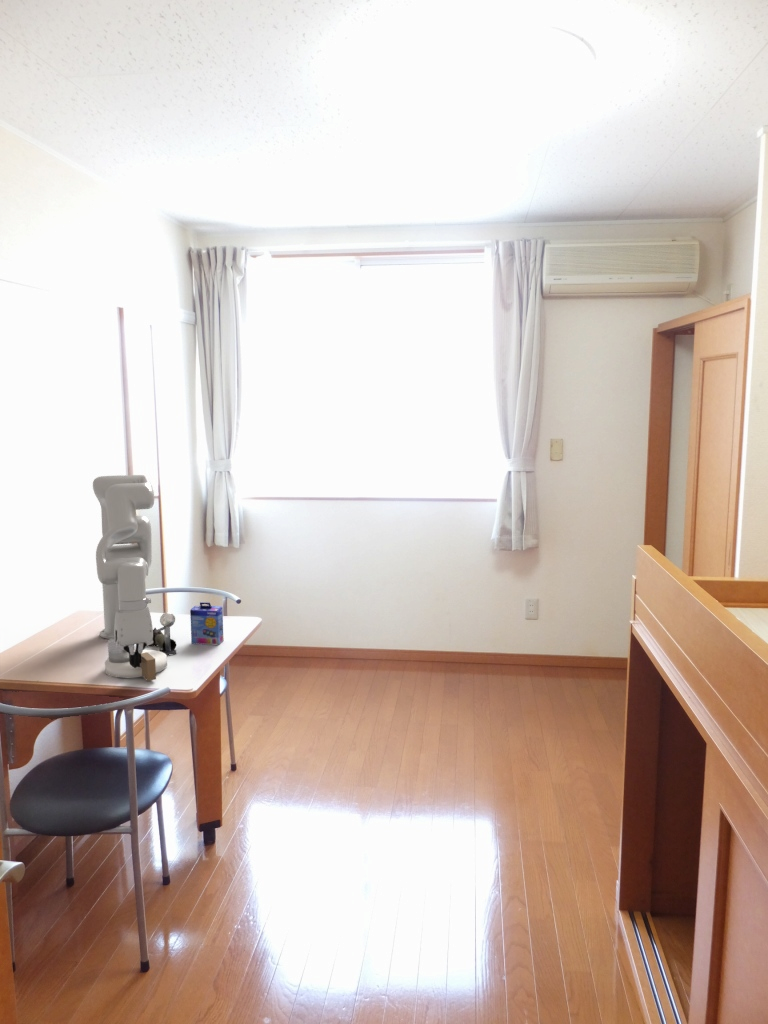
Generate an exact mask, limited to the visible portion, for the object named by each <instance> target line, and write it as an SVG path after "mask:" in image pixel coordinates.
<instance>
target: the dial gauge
mask: <svg viewBox="0 0 768 1024" xmlns="http://www.w3.org/2000/svg"><path fill="white" fill-rule="evenodd" d="M159 618H160V619H159V622H160V624H161V625H162V627H160V628H158V629H157V630H155V631H154V632H155V633H157V632H159V631H161V632H162V631H164V632H163V634H164V638H165V651H164V650H163V649H159V651H160V652H163V653H165V654H166V655H169V654H173V655H177V650H175V649H173V648H171V643H170V638H171V627H172V626H173V625H174V624H175V623H176V616H175V615H174V614H173V613H172V612H163V614H162V615H161V616H160V617H159ZM169 656H170V655H169Z"/></svg>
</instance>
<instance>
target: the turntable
mask: <svg viewBox="0 0 768 1024" xmlns="http://www.w3.org/2000/svg"><path fill="white" fill-rule="evenodd" d="M167 666H168V656H167V655H166V654H165V653H163V652H160V650H154V649H144V650H143V652H142V653H141V663H140V667H136V668H134V667H132V666H131V665H130V662H125V663H112V662H109V657H108V658H106V659H105V661H104V670H105V673H106V674H107V675H109V676H111V677H114V678H122V679H125V678H126V679H129V678H132V679H133V678H140V677H143V678H144V679H145V680H146V681H147V682H150V681H154V680H157V673H159V672H161V671H163V670H164V669H166V668H167Z"/></svg>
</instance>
